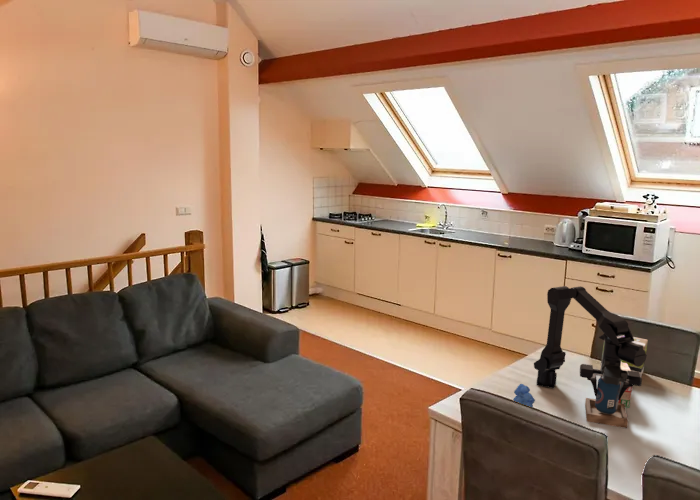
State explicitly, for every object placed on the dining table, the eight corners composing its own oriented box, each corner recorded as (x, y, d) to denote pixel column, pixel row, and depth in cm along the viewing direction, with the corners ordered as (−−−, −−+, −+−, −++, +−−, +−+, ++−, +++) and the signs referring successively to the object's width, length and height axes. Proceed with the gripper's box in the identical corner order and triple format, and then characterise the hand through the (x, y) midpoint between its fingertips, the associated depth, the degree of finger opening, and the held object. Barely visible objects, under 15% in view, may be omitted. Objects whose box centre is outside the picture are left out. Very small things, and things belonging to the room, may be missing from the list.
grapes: (541, 425, 181) (544, 391, 179) (521, 425, 180) (524, 392, 178) (526, 408, 192) (529, 376, 190) (508, 408, 192) (510, 377, 189)
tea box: (599, 371, 224) (603, 337, 221) (604, 363, 232) (608, 330, 229) (640, 381, 215) (645, 345, 212) (643, 372, 223) (648, 338, 220)
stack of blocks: (602, 381, 215) (605, 351, 213) (619, 383, 213) (623, 353, 211) (610, 405, 195) (614, 373, 193) (629, 408, 193) (633, 376, 191)
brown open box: (586, 421, 184) (587, 413, 183) (585, 404, 195) (585, 397, 195) (627, 428, 180) (628, 420, 179) (623, 411, 191) (624, 404, 190)
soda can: (591, 404, 191) (595, 373, 188) (612, 406, 190) (616, 374, 188) (598, 414, 184) (602, 381, 181) (619, 416, 183) (624, 383, 181)
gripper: (583, 359, 179) (578, 403, 182) (646, 368, 172) (640, 413, 175) (581, 347, 189) (577, 389, 192) (642, 356, 182) (636, 398, 186)
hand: (607, 397), depth 186 cm, fingers closed on soda can, 7 cm apart
